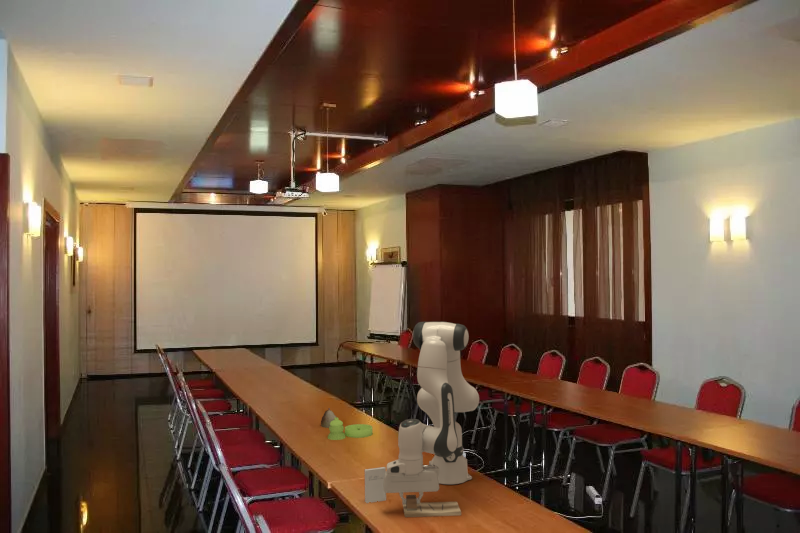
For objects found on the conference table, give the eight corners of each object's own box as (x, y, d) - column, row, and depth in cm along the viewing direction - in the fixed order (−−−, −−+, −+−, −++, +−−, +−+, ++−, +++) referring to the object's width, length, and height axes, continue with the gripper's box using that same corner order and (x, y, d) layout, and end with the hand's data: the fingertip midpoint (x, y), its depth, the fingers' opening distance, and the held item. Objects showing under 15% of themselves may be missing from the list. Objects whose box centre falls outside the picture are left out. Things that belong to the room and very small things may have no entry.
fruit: (333, 427, 376) (333, 406, 376) (342, 430, 369) (342, 409, 369) (318, 430, 370) (317, 409, 370) (327, 433, 362) (327, 411, 362)
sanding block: (406, 506, 241) (406, 494, 241) (415, 505, 241) (415, 494, 241) (407, 510, 236) (406, 499, 236) (416, 510, 236) (416, 499, 236)
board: (403, 506, 244) (403, 503, 244) (456, 504, 245) (456, 501, 245) (404, 517, 233) (404, 513, 233) (461, 515, 234) (461, 511, 234)
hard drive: (364, 502, 249) (364, 469, 249) (385, 499, 252) (384, 466, 252) (366, 503, 247) (365, 470, 248) (386, 500, 250) (386, 467, 251)
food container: (364, 434, 360) (363, 411, 360) (377, 439, 348) (377, 415, 348) (322, 440, 347) (322, 416, 347) (334, 446, 335) (334, 421, 335)
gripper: (438, 462, 242) (439, 500, 242) (382, 463, 241) (383, 501, 241) (440, 467, 236) (440, 506, 236) (383, 468, 235) (383, 507, 235)
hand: (411, 503), depth 239 cm, fingers closed on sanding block, 3 cm apart
